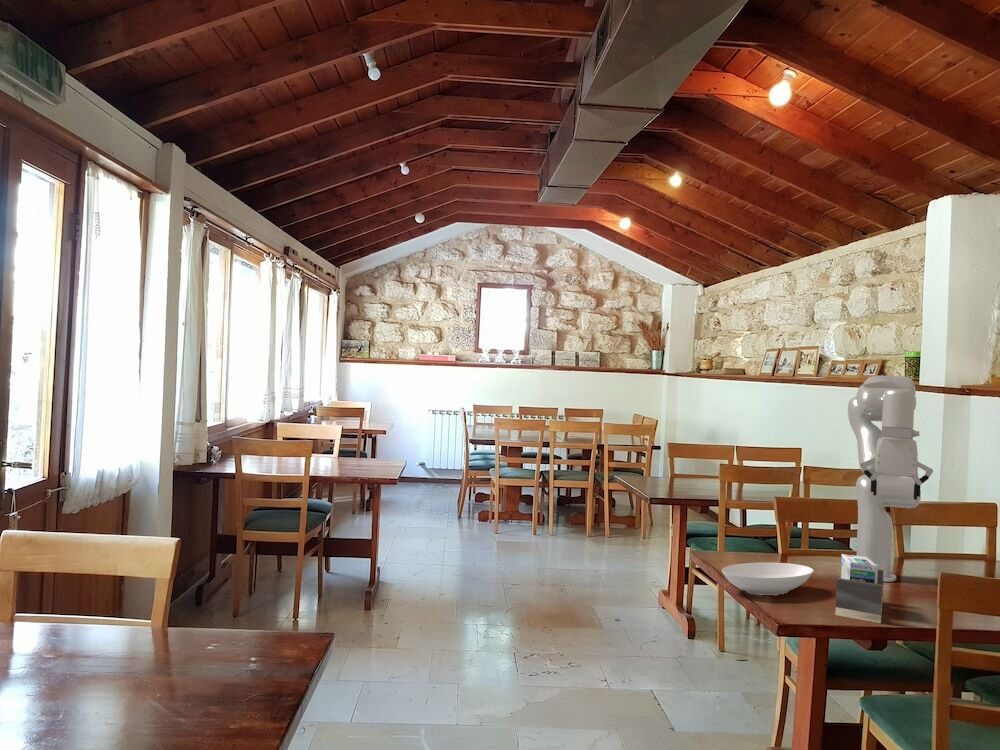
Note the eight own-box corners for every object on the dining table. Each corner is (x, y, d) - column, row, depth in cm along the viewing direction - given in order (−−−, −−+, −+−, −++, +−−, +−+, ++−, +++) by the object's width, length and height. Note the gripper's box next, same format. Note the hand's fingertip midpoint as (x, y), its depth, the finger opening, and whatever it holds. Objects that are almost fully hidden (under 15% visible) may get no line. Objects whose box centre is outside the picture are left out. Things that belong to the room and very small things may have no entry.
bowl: (745, 604, 181) (746, 580, 181) (705, 588, 194) (706, 566, 195) (828, 595, 193) (829, 573, 193) (786, 580, 207) (787, 560, 207)
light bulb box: (877, 608, 176) (879, 565, 176) (848, 605, 177) (849, 562, 178) (866, 596, 186) (868, 556, 186) (839, 593, 188) (840, 553, 188)
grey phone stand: (840, 596, 193) (842, 563, 193) (882, 603, 188) (883, 569, 188) (835, 615, 175) (836, 579, 175) (880, 623, 170) (882, 586, 170)
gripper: (933, 436, 190) (931, 499, 190) (862, 431, 199) (859, 492, 198) (935, 437, 183) (932, 502, 183) (860, 432, 192) (858, 494, 192)
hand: (894, 497), depth 191 cm, fingers open, 9 cm apart
